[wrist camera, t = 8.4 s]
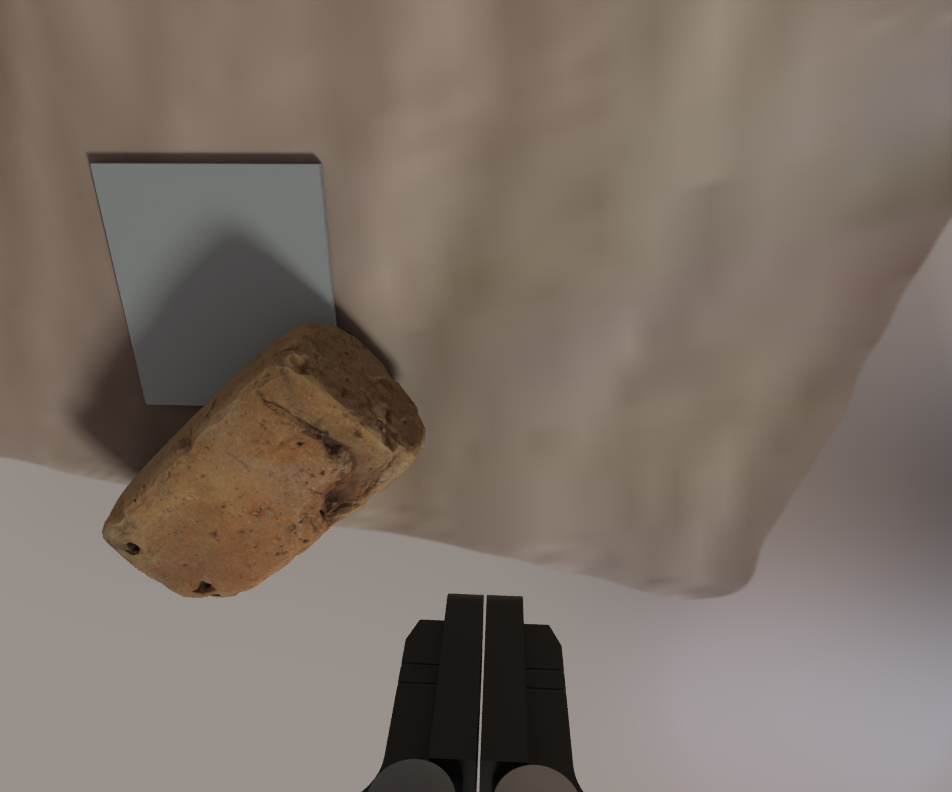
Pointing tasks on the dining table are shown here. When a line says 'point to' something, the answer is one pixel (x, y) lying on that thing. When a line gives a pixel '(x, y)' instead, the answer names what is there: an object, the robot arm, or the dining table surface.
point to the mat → (213, 265)
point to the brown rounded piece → (267, 465)
